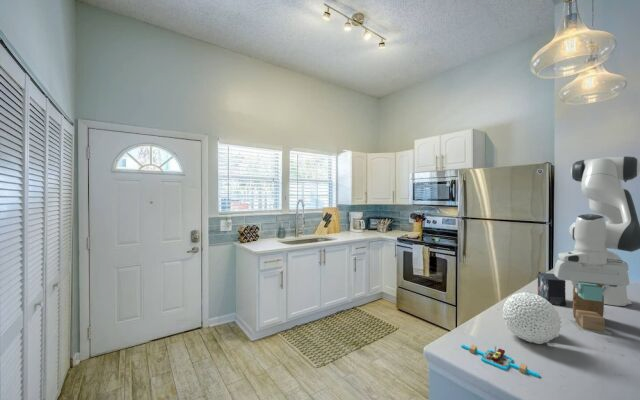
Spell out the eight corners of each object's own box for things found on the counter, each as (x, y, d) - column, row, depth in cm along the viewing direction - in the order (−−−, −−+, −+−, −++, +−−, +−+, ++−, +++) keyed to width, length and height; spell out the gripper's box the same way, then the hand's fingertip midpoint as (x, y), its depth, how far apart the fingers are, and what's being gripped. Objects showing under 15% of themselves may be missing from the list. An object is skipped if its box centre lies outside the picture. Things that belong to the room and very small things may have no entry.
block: (595, 327, 103) (596, 276, 103) (570, 320, 109) (570, 271, 109) (606, 322, 108) (607, 272, 108) (581, 315, 114) (582, 268, 114)
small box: (537, 295, 139) (537, 272, 139) (553, 296, 136) (553, 273, 136) (547, 304, 127) (548, 278, 127) (566, 306, 124) (566, 280, 124)
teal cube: (578, 295, 104) (578, 282, 104) (595, 297, 102) (595, 284, 102) (584, 299, 99) (584, 286, 100) (602, 301, 97) (602, 288, 97)
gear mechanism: (468, 342, 92) (457, 352, 86) (468, 327, 92) (457, 336, 86) (542, 370, 77) (536, 385, 71) (542, 351, 77) (536, 364, 71)
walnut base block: (575, 322, 105) (575, 309, 105) (596, 325, 102) (596, 312, 102) (582, 328, 99) (582, 315, 99) (604, 332, 97) (604, 318, 97)
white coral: (579, 333, 81) (540, 281, 91) (517, 349, 86) (488, 299, 96) (567, 337, 95) (536, 292, 105) (516, 351, 101) (490, 307, 111)
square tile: (568, 322, 107) (568, 319, 107) (599, 327, 103) (599, 324, 103) (579, 332, 99) (579, 329, 99) (612, 338, 95) (612, 334, 95)
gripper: (622, 258, 99) (622, 295, 99) (553, 253, 108) (552, 287, 108) (633, 262, 94) (633, 301, 94) (559, 256, 102) (558, 292, 102)
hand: (589, 294), depth 101 cm, fingers closed on teal cube, 5 cm apart
